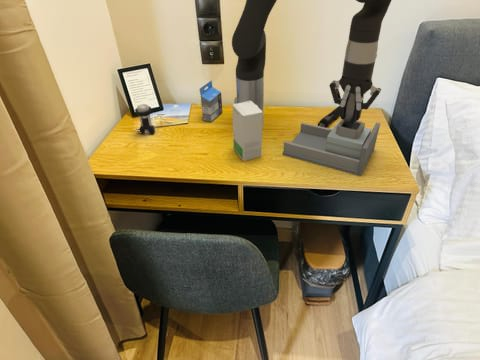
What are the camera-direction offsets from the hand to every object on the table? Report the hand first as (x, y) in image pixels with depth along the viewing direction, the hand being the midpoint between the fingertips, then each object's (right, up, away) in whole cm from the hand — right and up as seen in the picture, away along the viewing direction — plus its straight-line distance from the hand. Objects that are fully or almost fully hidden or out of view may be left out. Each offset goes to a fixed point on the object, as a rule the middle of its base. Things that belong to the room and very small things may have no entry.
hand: (349, 119), depth 97 cm
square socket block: (+1, -9, +6) cm, 11 cm away
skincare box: (-28, -9, +10) cm, 32 cm away
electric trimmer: (+1, +4, +26) cm, 27 cm away
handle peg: (0, -3, +2) cm, 4 cm away
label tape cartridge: (-41, +6, +31) cm, 52 cm away
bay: (-3, -9, +9) cm, 13 cm away
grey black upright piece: (-64, -1, +23) cm, 68 cm away
